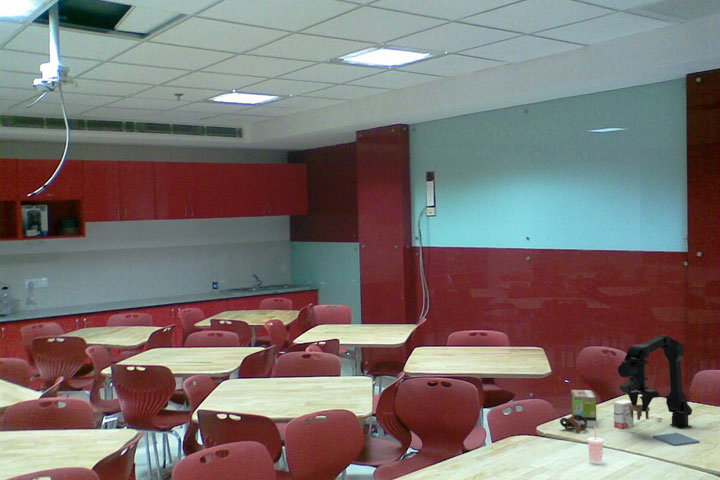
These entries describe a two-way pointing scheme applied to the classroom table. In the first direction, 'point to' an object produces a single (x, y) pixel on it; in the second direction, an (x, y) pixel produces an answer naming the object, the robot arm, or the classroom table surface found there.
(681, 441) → the rubber mat
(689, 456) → the classroom table surface
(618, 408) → the ink box
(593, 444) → the beverage cup
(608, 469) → the classroom table surface
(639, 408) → the walnut stool
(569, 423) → the toy cannon
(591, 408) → the tea box
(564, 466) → the classroom table surface
